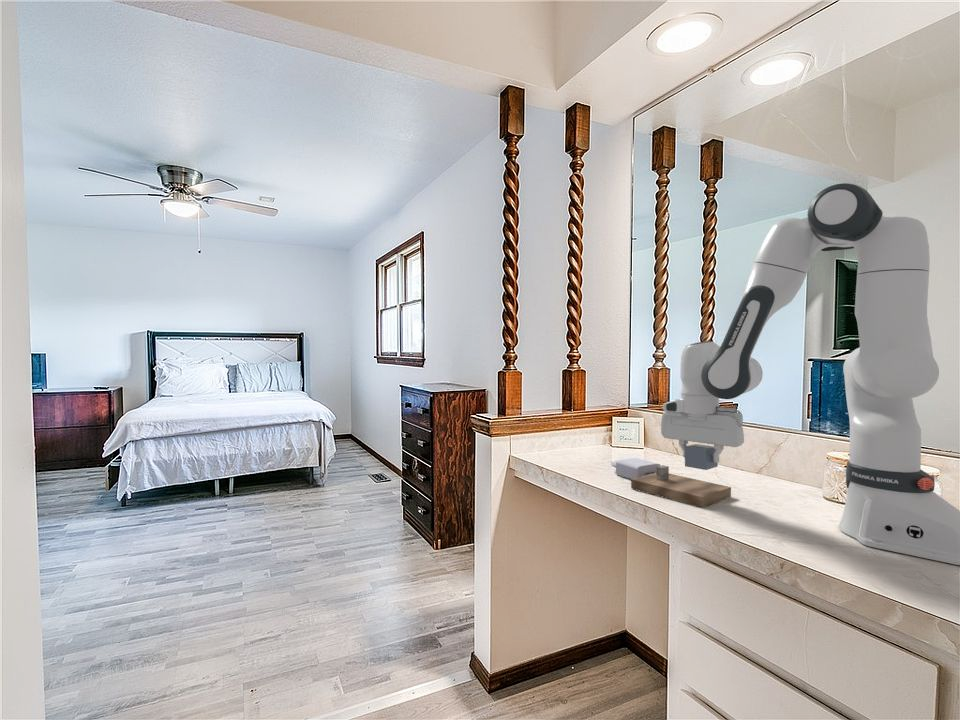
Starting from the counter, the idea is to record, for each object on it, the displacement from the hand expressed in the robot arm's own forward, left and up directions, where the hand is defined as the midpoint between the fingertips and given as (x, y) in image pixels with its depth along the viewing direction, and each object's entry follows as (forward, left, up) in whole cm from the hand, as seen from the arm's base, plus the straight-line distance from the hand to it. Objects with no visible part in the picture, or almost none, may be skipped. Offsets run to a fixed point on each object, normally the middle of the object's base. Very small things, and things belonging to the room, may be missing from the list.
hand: (700, 459), depth 123 cm
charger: (+25, -6, -10) cm, 27 cm away
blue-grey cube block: (0, 0, -2) cm, 2 cm away
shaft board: (+6, 0, -10) cm, 11 cm away
